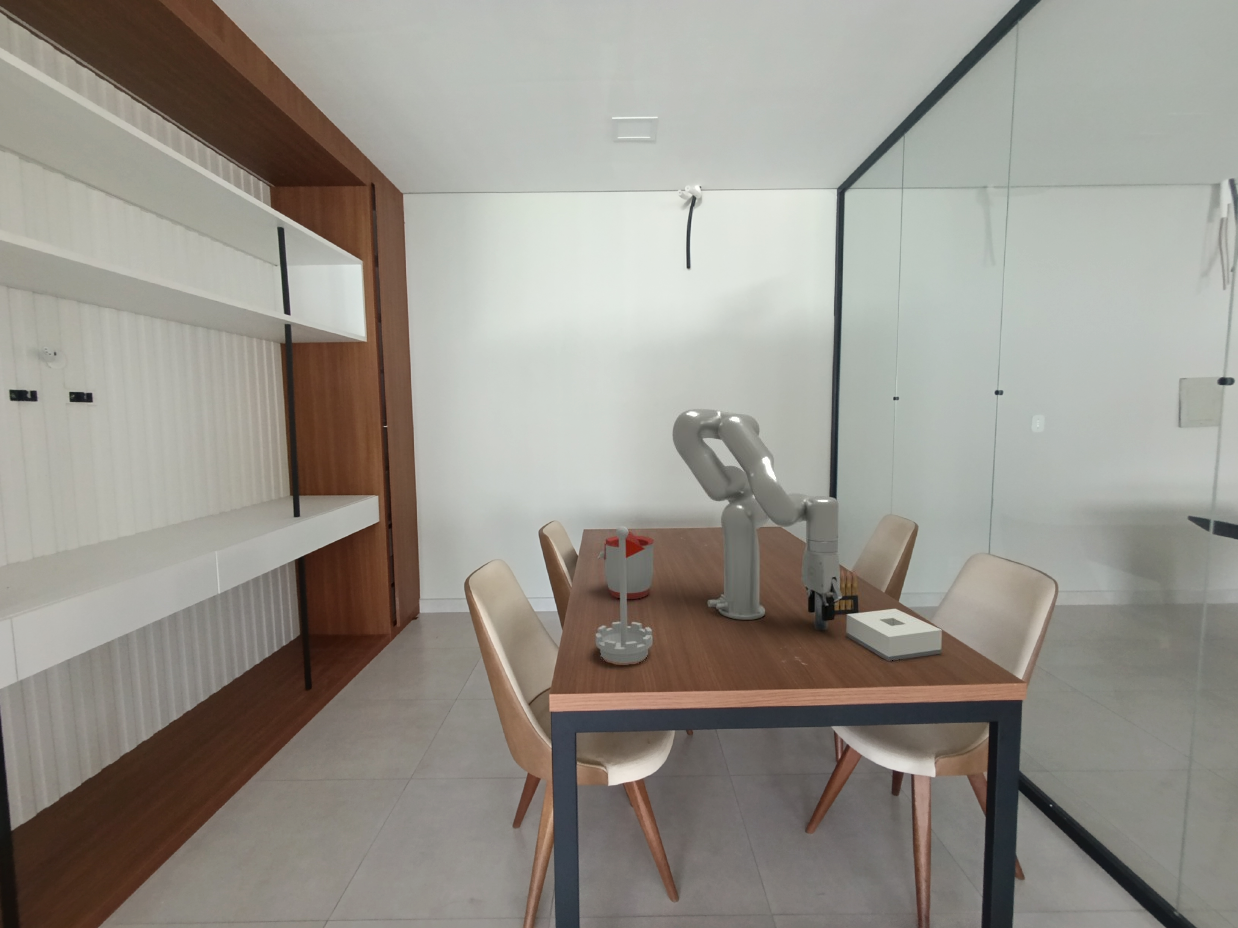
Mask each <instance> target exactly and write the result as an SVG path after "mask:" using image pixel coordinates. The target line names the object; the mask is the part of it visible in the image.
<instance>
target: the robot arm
mask: <svg viewBox="0 0 1238 928" xmlns="http://www.w3.org/2000/svg"><path fill="white" fill-rule="evenodd" d="M760 431H761V430H760V425H759V423H758V421H757V419H755V418H754V417H753V416H751V415H749V414H745V413H744V414H742V413H734V412H729V411H722V410H715V409H709V408H708V409H705V408H694V409H693V408H692V409H688V410H684V411H683V412H682V413H680V414H679V415H678V417H677V418H676V420H675V421H674V424H673V427H672V433H671V434H672V442H673V445H674V448H675V449H676V451H677V453H678V455H679V456H680V457H681V459H682V460H683V462H684V463H685V464H686V466H687V467H688V469H689V470H690V471H691V474H692V475H693V476H694V478H695V479H696V480H697V482H698V483H699V485H700V486H701V487H702V489H703V491H704V492H705V494H706V495H707V496H708V498H710V499H711V500H712V501H715V502H724V501H727V502H728V504H727V505H725V507H724V508H723V510H722V513H721V516H720V522H721V523H720V524H721V531H722V536H723V560H724V561H723V579H724V580H723V587H724V589H723V593H724V594H723V593H721V594H720V597H718V598H717V599H708V600H707V606H708V608H714V607H715V608H716V610H718V612H719V613H720V615H722V616H724V617H727V618H729V619H735V620H740V621H741V620H743V621H746V620H747V621H748V620H749V621H751V620H757V619H760V618H762V617H763V616H765V614H766V609H765V606H763V605H762V604H760V543H759V538H758V529H760V528H762V527H763V526H765V525H767V523H768V521H769V520H771V522H772V523H774V524H775V525H777V526H779V527H783V528H788V527H792V526H794V525H797V523H801V522H806V523H805V548H804V552H803V557H802V566H801V584H802V585H803V586H805V587H804V588H805V589H806V596H807V612H808V613H809V614H810V613H811V614H813V613H815V592H817V593H819V594H822V596H823V602H824V605H822V620H823V621H827V622H828V621H834V620H835V615H834V614H835V605H836V602H837V601H838V600H839V599H841V598H842V594H841V592H840V573H841V569H840V567H841V566H840V560H839V554H838V552H839V502H838V500H837V499H836V498H835V497H831V496H819V495H817V496H812V495H806V494H803V493H802V494H801V493H789V494H787V492H786V491H785V489H784V488H783V487H782V486H781V484H780V482H779V479H777V477H776V474H775V470H774V467H775V466H774V462H775V461H774V460H775V459H774V458H775V457H774V455H773V453H772V452H771V451H770V450H769V448H768V446H767V445H765V442H763V440H762V439H761V438H760V436H759V435H760ZM705 439H714V440H715V439H716V440H720V441H722V442H723V444H724V445H725V446H726V448H727V449H728V451H729V452H730V453H731V455H732V456H733V458H734V459H735V460H736V462H737V464H739V466H740V467H741V468H740V467H738V466H735V465H725V464H724V463H723V462H722V461H721V459H720V458H719V457H718V456H717V454H716V452H715V450H713V449H712V448H711V447H710V446H709V445H708V444H707V443H706V442H705V441H704V440H705ZM829 590H830V592H829ZM827 595H830V596H831V597H830V598H829V599H828V598H827Z"/></svg>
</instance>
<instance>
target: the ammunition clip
mask: <svg viewBox="0 0 1238 928" xmlns="http://www.w3.org/2000/svg"><path fill="white" fill-rule="evenodd" d="M857 582H858V581H857V571H856V570H855V569H853V571H852V574H851V573H850V570H849V569H847V571H846V574H845V573H844V570H840V592H841V594H842V598H841V599H839V600H838V601H837V602H836V605H835V614H834V616H836V615H838V616H839V615H847V614H855V613H860V612H859V595H858V583H857ZM829 592H830V590H829ZM830 597H831V596H830V595H828V599H829V598H830Z"/></svg>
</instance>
